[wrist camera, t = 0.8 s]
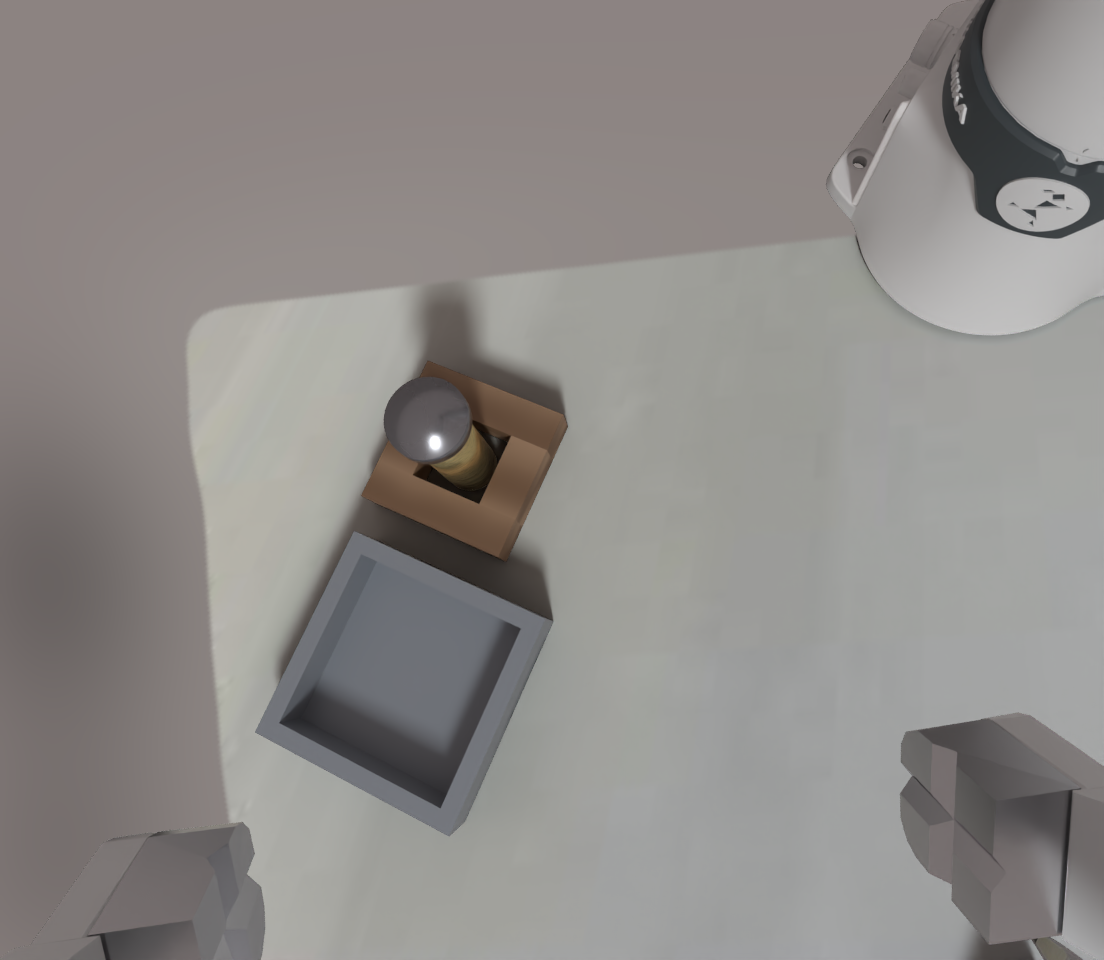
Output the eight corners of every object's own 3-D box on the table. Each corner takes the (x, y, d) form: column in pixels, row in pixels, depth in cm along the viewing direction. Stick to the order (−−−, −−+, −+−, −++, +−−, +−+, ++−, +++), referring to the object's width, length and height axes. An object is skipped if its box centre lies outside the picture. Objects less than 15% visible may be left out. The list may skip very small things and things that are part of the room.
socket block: (438, 375, 49) (427, 360, 46) (567, 426, 47) (563, 414, 44) (375, 503, 47) (361, 495, 45) (506, 561, 45) (498, 557, 43)
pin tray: (375, 539, 47) (354, 530, 43) (553, 621, 44) (545, 619, 41) (284, 725, 45) (254, 732, 42) (464, 821, 43) (449, 836, 39)
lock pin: (455, 422, 48) (406, 364, 38) (516, 447, 47) (481, 394, 37) (426, 483, 47) (369, 440, 37) (487, 509, 46) (444, 472, 37)
